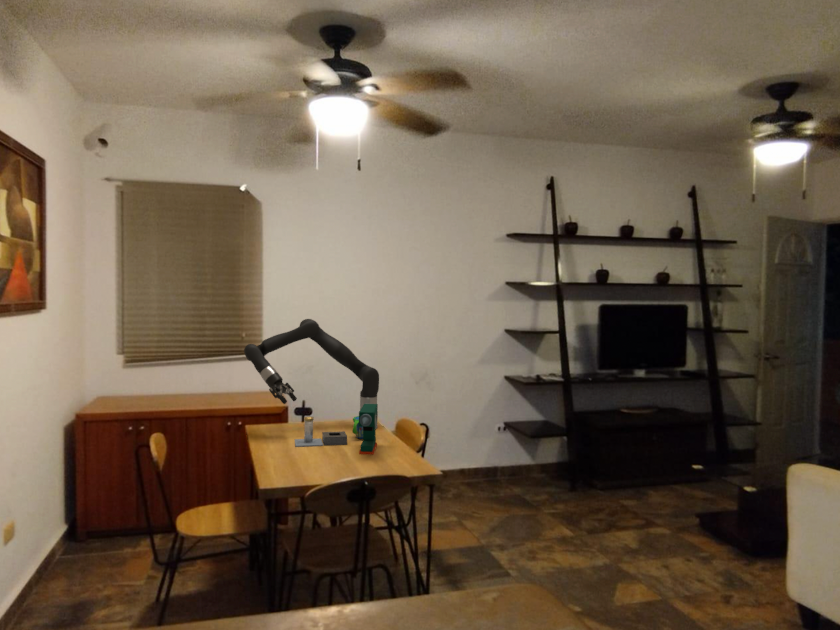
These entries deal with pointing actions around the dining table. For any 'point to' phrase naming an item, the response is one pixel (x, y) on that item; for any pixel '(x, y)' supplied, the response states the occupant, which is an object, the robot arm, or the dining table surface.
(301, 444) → the mat
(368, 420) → the power tool
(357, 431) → the snack cup
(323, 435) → the socket block
